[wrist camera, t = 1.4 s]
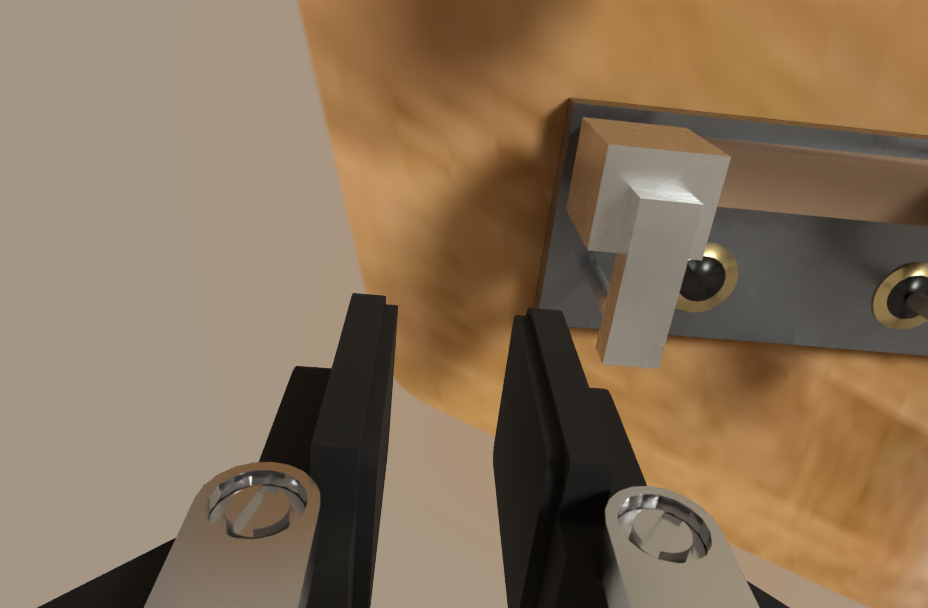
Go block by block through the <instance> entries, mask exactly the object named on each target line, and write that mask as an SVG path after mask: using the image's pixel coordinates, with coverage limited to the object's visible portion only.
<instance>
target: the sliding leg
mask: <svg viewBox="0 0 928 608" xmlns="http://www.w3.org/2000/svg"><path fill="white" fill-rule="evenodd" d="M730 159H731V156H729V155H728V154H726V153H725V152H723V151H722V150H720V149H718V148H717V147H715V146H714V145H712V144H711V143H709V142H708V141H706V140H704V139H703V138H701V137H700V136H698V135H697V134H695V133H694V132H692V131H691V130H689V129H687V128H682V127H673V126H663V125H653V124H644V123H634V122H625V121H615V120H605V119H596V118H586V117H583V118H582V124H581V129H580V135H579V140H578V146H577V151H576V157H575V163H574V168H573V174H572V179H571V185H570V190H569V196H568V201H567V207H566V210H567V212H568V214H569V216H570V218H571V219H572V221H573V223H574V225H575V227H576V229H577V231H578V233H579V235H580V237H581V239H582V241H583V243H584V245H585V246H586V248H587V250H589V251H601V252H612V253H616V257H615V262H614V266H613V271H612V275H611V280H610V284H609V282H608V280H607V278H606V276H605V274H604V272H603V271H602V269H601V267H600V266H598V265H595V264H593V265H590V266H588V267H587V268H586V269H585V271H584V276H585V278H586V280H587V283H588V285H589V287H590V289H591V291H592V293H593V296H594V298H595V300H596V302H597V304H598V306H599V308H600V311H601V313H602V315H603V316H602V320H601V325H600V330H599V334H598V339H597V343H596V349H597V352H598V354H599V357H600V359H601V362H602V364H604V365H617V366H630V367H643V368H656V369H659V366H660V362H661V358H662V355H663V351H664V347H665V343H666V340H667V336H668V332H669V329H670V325H671V321H672V318H673V314H674V310H675V307H676V303H677V299H678V296H679V292H680V288H681V285H682V281H683V277H684V274H685V270H686V266H687V263H688V259H690V260H701V261H702V259H703V255H704V252H705V248H706V244H707V241H708V237H709V234H710V230H711V227H712V223H713V220H714V216H715V213H716V209H717V205H718V202H719V198H720V195H721V191H722V188H723V184H724V181H725V177H726V174H727V170H728V166H729V163H730Z"/></svg>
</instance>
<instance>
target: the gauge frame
mask: <svg viewBox="0 0 928 608" xmlns="http://www.w3.org/2000/svg"><path fill="white" fill-rule="evenodd" d="M700 137H701V136H700ZM701 138H703V139H704V140H706V141H708V142H709V143H711V144H712V145H714V146H715V147H717V148H718V149H720V150H722V151H723V152H725V153H726V154H728V155H729V156H731V159H730V163H729V166H728V170H727V174H726V177H725V181H724V184H723V188H722V191H721V195H720V198H719V202H718V205H717V207H727V208H737V209H748V210H758V211H768V212H779V213H789V214H800V215H810V216H821V217H831V218H842V219H852V220H863V221H873V222H884V223H894V224H905V225H915V226H926V227H928V160H924V159H915V158H905V157H895V156H886V155H876V154H866V153H857V152H847V151H837V150H827V149H818V148H808V147H798V146H789V145H779V144H769V143H760V142H750V141H740V140H731V139H721V138H711V137H701ZM906 304H907V306H908V307H910V308H911V309H912V310H914V311H915V312H917V313H918V314H919V315H921V316H922V317H923V318H925V319H926V320H928V297H927V296H925V295H924V294H922V293H921V292H915V293H913V294H911V295H910V296H909V297H908V298H907V301H906Z"/></svg>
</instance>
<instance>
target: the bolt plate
mask: <svg viewBox="0 0 928 608" xmlns="http://www.w3.org/2000/svg"><path fill="white" fill-rule="evenodd" d="M583 117H586V118H596V119H605V120H615V121H625V122H634V123H644V124H653V125H663V126H673V127H682V128H687V129H689V130H691V131H692V132H694V133H695V134H697V135H698V136H701V137H711V138H721V139H731V140H740V141H750V142H760V143H769V144H779V145H789V146H798V147H808V148H818V149H827V150H837V151H847V152H857V153H866V154H876V155H886V156H895V157H905V158H915V159H924V160H928V136H927V135H918V134H908V133H899V132H889V131H880V130H871V129H861V128H852V127H842V126H833V125H823V124H814V123H804V122H795V121H786V120H776V119H767V118H757V117H748V116H738V115H729V114H719V113H710V112H700V111H691V110H682V109H672V108H663V107H653V106H644V105H634V104H625V103H615V102H606V101H597V100H587V99H578V98H569V104H568V110H567V116H566V122H565V127H564V133H563V139H562V145H561V151H560V157H559V163H558V169H557V175H556V181H555V186H554V192H553V198H552V204H551V210H550V216H549V222H548V228H547V234H546V240H545V246H544V251H543V257H542V263H541V269H540V275H539V281H538V287H537V293H536V299H535V305H534V308H539V309H551V310H561V311H562V312H563V315H564V318H565V320H566V323H567V326H568V327H578V328H591V329H600V325H601V320H602V316H603V315H602V313H601V311H600V308H599V306H598V304H597V302H596V300H595V298H594V296H593V293H592V291H591V289H590V287H589V285H588V283H587V280H586V278H585V276H584V271H585V269H586V268H587V267H588V266H590V265H593V264H595V265H598V266H600V267H601V269H602V271H603V272H604V274H605V276H606V278H607V280H608V282H609V284H610V280H611V275H612V271H613V266H614V262H615V257H616V253H612V252H601V251H589V250H587V248H586V246H585V245H584V243H583V241H582V239H581V237H580V235H579V233H578V231H577V229H576V227H575V225H574V223H573V221H572V219H571V218H570V216H569V214H568V212H567V210H566V207H567V201H568V196H569V190H570V185H571V179H572V174H573V168H574V163H575V157H576V151H577V146H578V140H579V135H580V129H581V124H582V118H583ZM915 292H921V293H922V294H924V295H925V296H927V297H928V227H926V226H915V225H905V224H894V223H884V222H873V221H863V220H852V219H842V218H831V217H821V216H810V215H800V214H789V213H779V212H768V211H758V210H748V209H737V208H727V207H717V209H716V213H715V216H714V220H713V223H712V227H711V230H710V234H709V237H708V241H707V244H706V248H705V252H704V255H703V259H702V261H701V260H690V259H688V263H687V266H686V270H685V274H684V277H683V281H682V285H681V288H680V292H679V296H678V299H677V303H676V307H675V310H674V314H673V318H672V321H671V325H670V329H669V332H668V335H677V336H690V337H702V338H715V339H727V340H739V341H752V342H764V343H776V344H789V345H801V346H814V347H826V348H838V349H851V350H863V351H876V352H888V353H900V354H913V355H925V356H928V320H926V319H925V318H923V317H922V316H921V315H919V314H918V313H917V312H915V311H914V310H912V309H911V308H910V307H908V306H907V304H906V301H907V298H908V297H909V296H910V295H911V294H913V293H915Z"/></svg>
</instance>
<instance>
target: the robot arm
mask: <svg viewBox="0 0 928 608" xmlns="http://www.w3.org/2000/svg"><path fill="white" fill-rule="evenodd" d="M397 316H398V305H386V296H381V295H369V294H357V293H353V294H352V297H351V301H350V304H349V308H348V311H347V315H346V319H345V322H344V326H343V330H342V333H341V337H340V340H339V344H338V348H337V351H336V355H335V358H334V362H333V366H332V368H318V367H304V366H296V367H295V368H294V370H293V372H292V374H291V377H290V380H289V382H288V385H287V388H286V390H285V393H284V396H283V398H282V401H281V404H280V406H279V409H278V412H277V414H276V417H275V420H274V423H273V425H272V428H271V431H270V433H269V436H268V439H267V441H266V444H265V447H264V449H263V452H262V455H261V458H260V460H259V462H256V463H249V464H245V465H241V466H236V467H233V468H231V469H229V470H227V471H225V472H222V473H220V474H218V475H216V476H215V477H214V478H213V479H211V480H210V481H209V482H207V483H206V484H205V485H204V486H203V487H202V488H201V490H200V491H199V493H198V494H197V495H196V497H195V498H194V500H193V503H192V504H191V507H190V509H189V511H188V513H187V516H186V518H185V520H184V522H183V524H182V526H181V528H180V530H179V533H178V535H177V537H176V538H174V539H172V540H170V541H168V542H166V543H164V544H162V545H160V546H158V547H156V548H155V549H153V550H151V551H149V552H147V553H145V554H143V555H141V556H139V557H137V558H135V559H133V560H131V561H129V562H127V563H125V564H123V565H121V566H119V567H117V568H115V569H113V570H111V571H109V572H107V573H105V574H103V575H101V576H99V577H97V578H95V579H93V580H91V581H89V582H87V583H85V584H84V585H81V586H79V587H77V588H75V589H73V590H71V591H69V592H67V593H66V594H63V595H61V596H59V597H58V598H56V599H54V600H52V601H50V602H48V603H46V604H44V605H42V606H40V607H38V608H370V605H371V596H372V588H373V579H374V570H375V561H376V552H377V543H378V534H379V526H380V516H381V508H382V499H383V490H384V481H385V472H386V463H387V454H388V453H387V452H388V443H389V429H390V428H389V427H390V414H391V401H392V387H393V373H394V359H395V344H396V330H397ZM493 467H494V476H495V486H496V496H497V505H498V516H499V525H500V534H501V545H502V554H503V563H504V574H505V583H506V592H507V603H508V608H789V607H787V606H786V605H784V604H783V603H781V602H780V601H778V600H777V599H775V598H773V597H772V596H770V595H769V594H767V593H765V592H764V591H762V590H761V589H759V588H757V587H756V586H754V585H753V584H751V583H749V582H748V581H746V579H745V577H744V575H743V573H742V571H741V569H740V567H739V565H738V563H737V561H736V559H735V557H734V555H733V553H732V551H731V549H730V546H729V544H728V542H727V540H726V538H725V536H724V534H723V532H722V530H721V529H720V527H719V526H718V524H717V523H716V522H715V520H714V519H713V517H712V516H711V515H710V514H709V513H707V512H706V511H705V510H704V509H703V508H702V507H701V506H700V505H698V504H697V503H695V502H693V501H692V500H690V499H688V498H686V497H685V496H683V495H681V494H678V493H675V492H672V491H670V490H667V489H663V488H657V487H651V486H647V484H646V482H645V479H644V477H643V474H642V472H641V469H640V467H639V464H638V462H637V459H636V457H635V454H634V452H633V449H632V447H631V444H630V442H629V439H628V437H627V434H626V432H625V429H624V427H623V424H622V422H621V419H620V417H619V414H618V412H617V409H616V406H615V404H614V401H613V399H612V396H611V394H610V393H609V391H608V390H606V389H601V388H589V386H588V383H587V380H586V377H585V374H584V371H583V369H582V366H581V363H580V360H579V357H578V354H577V352H576V349H575V346H574V343H573V340H572V337H571V335H570V332H569V329H568V326H567V323H566V320H565V318H564V315H563V312H562V311H561V310H551V309H539V308H528V310H527V312H526V316H521V315H515V317H514V321H513V327H512V333H511V339H510V346H509V352H508V359H507V365H506V372H505V378H504V384H503V391H502V397H501V404H500V410H499V416H498V423H497V429H496V436H495V442H494V452H493Z"/></svg>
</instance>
